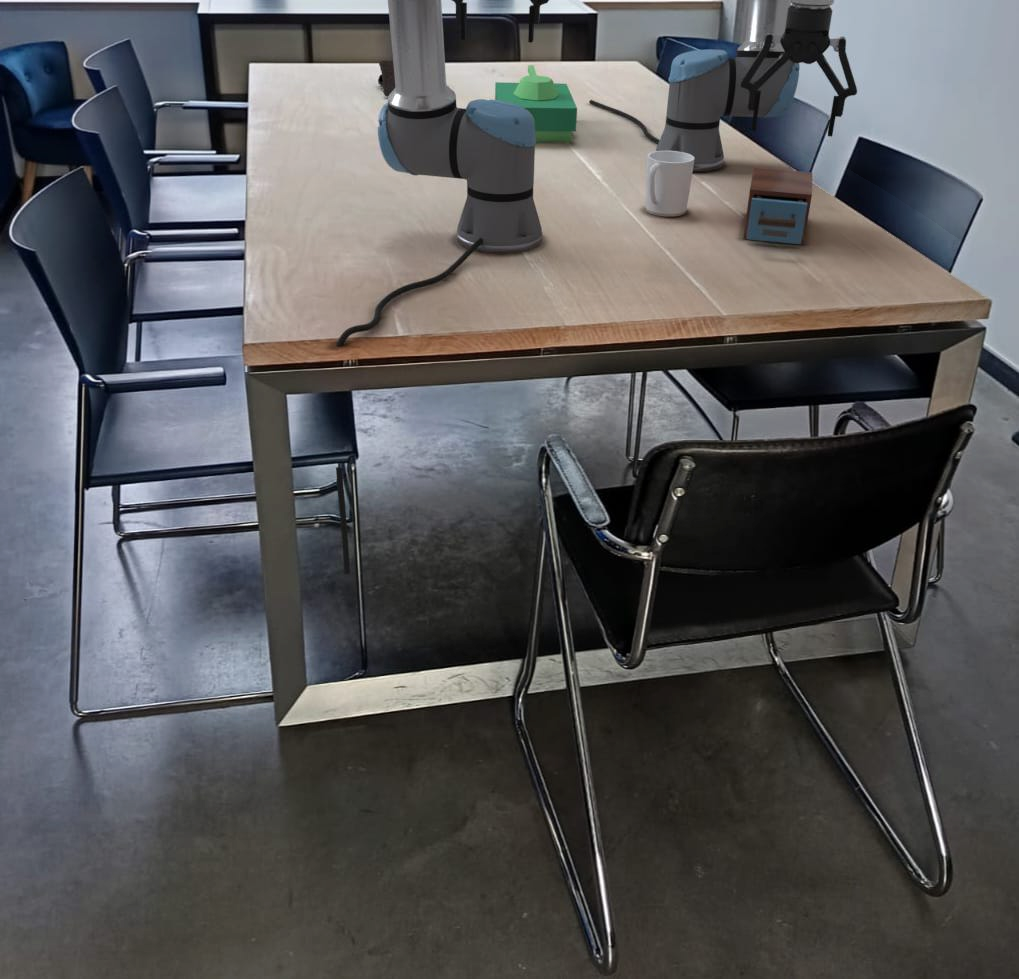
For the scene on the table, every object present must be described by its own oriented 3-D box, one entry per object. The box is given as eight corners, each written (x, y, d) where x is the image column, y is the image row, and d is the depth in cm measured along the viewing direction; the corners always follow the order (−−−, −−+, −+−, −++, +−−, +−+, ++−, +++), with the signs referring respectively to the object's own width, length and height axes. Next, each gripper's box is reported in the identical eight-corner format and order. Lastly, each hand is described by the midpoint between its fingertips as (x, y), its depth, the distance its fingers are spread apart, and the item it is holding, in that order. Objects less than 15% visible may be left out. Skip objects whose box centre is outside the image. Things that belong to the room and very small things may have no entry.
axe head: (443, 87, 294) (392, 77, 287) (436, 115, 299) (385, 106, 292) (421, 62, 307) (371, 52, 300) (414, 89, 311) (365, 80, 304)
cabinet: (803, 244, 197) (812, 194, 193) (743, 238, 199) (749, 189, 195) (804, 219, 210) (812, 172, 205) (747, 214, 212) (754, 167, 207)
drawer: (800, 254, 190) (807, 213, 186) (744, 248, 192) (750, 208, 188) (801, 221, 206) (808, 182, 202) (750, 216, 208) (755, 178, 204)
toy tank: (564, 61, 276) (578, 91, 246) (561, 111, 283) (575, 146, 253) (494, 60, 275) (499, 89, 245) (493, 110, 282) (498, 145, 252)
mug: (658, 200, 218) (663, 148, 212) (697, 210, 213) (703, 156, 208) (627, 213, 210) (631, 159, 205) (667, 223, 206) (672, 168, 200)
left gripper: (565, -78, 211) (560, 39, 222) (438, -83, 213) (439, 34, 224) (562, -76, 205) (557, 45, 216) (431, -80, 207) (432, 40, 218)
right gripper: (884, 6, 189) (861, 132, 200) (738, -2, 193) (723, 121, 205) (887, 12, 183) (863, 142, 194) (736, 4, 187) (721, 131, 198)
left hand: (497, 40), depth 220 cm, fingers open, 13 cm apart
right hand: (791, 132), depth 199 cm, fingers open, 13 cm apart
